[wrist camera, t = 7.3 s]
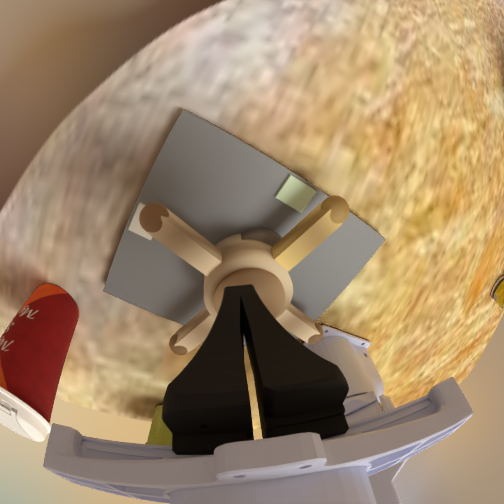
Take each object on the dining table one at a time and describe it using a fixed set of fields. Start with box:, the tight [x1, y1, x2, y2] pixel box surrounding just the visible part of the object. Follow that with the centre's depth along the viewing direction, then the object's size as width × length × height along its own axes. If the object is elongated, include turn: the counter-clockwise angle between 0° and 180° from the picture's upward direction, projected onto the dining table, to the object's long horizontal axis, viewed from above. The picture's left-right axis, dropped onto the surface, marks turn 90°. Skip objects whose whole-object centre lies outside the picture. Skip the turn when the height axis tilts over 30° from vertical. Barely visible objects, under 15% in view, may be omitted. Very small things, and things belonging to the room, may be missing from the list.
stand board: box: [103, 110, 386, 346], centre depth 23 cm, size 20×17×2 cm
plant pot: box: [146, 404, 172, 446], centre depth 33 cm, size 9×9×9 cm
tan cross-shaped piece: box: [139, 196, 349, 355], centre depth 21 cm, size 19×19×4 cm
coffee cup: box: [0, 284, 79, 442], centre depth 18 cm, size 8×8×15 cm
